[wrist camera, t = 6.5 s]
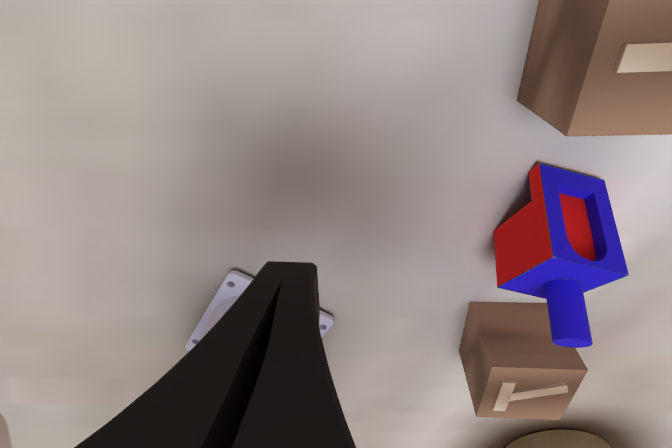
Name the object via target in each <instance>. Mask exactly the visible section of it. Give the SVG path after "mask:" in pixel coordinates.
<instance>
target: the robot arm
mask: <svg viewBox="0 0 672 448" xmlns="http://www.w3.org/2000/svg"><path fill="white" fill-rule="evenodd" d="M230 281H231V282H233V283H231V282H230ZM333 325H334V318H333V316H331V315H329V314H327V313H325V312H323V311H321V310H320V308H319V293H318V278H317V266H316V265H315V264H313V263H302V262H269V261H268V262H267V263H266V264H265V265H264V266H263V267H262V269H261V270H260V271H259V273H258V274H257V275H256V276H255V278H254V279H253V278H251V277H249V276H247V275H245V274H243V273H241V272H239V271H236V270H232V271H230V272H229V273H228V274H227V276H226V278H225V279H224V281H223V283H222V284H221V286H220V288H219V289H218V291H217V293H216V295H215V296H214V298H213V300H212V301H211V303H210V305H209V306H208V308H207V310H206V311H205V313H204V315H203V316H202V318H201V320H200V321H199V323H198V325H197V326H196V328H195V330H194V331H193V333H192V335H191V337H190V338H189V340H188V342H187V343H186V345H185V349H186V350H187V351H189V352H188V353H187V354H186V355H185V356H184V357H183V358H182V359H181V360H180V361H179V362H178V363H177V364H176V365H175V366H174V367H173V368H172V369H170V370H169V371H168V372H167V373H166V374H165V375H164V376H163V377H162V378H161V379H159V380H158V381H157V382H156V383H155V384H154V385H153V386H152V387H150V388H149V389H148V390H147V391H146V392H144V393H143V394H142V395H141V396H140V397H138V398H137V399H136V400H135V401H134V402H133V403H131V404H130V405H129V406H128V407H127V408H125V409H124V410H123V411H122V412H121V413H119V414H118V415H117V416H116V417H114V418H113V419H112V420H111V421H109V422H108V423H107V424H105V425H104V426H103V427H102V428H100V429H99V430H97V431H96V432H95V433H93V434H92V435H91V436H89V437H88V438H87V439H85V440H84V441H83V442H81V443H80V444H79V445H77V446H76V447H75V448H356V446H355V444H354V441H353V439H352V436H351V433H350V431H349V428H348V426H347V423H346V420H345V417H344V414H343V411H342V408H341V405H340V402H339V399H338V396H337V393H336V390H335V387H334V383H333V380H332V377H331V373H330V370H329V366H328V363H327V359H326V355H325V351H324V347H323V342H322V337H323V336H324V335H325V334H326V333H327V332H328V330H329V329H330V328H331V327H332V326H333Z"/></svg>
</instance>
